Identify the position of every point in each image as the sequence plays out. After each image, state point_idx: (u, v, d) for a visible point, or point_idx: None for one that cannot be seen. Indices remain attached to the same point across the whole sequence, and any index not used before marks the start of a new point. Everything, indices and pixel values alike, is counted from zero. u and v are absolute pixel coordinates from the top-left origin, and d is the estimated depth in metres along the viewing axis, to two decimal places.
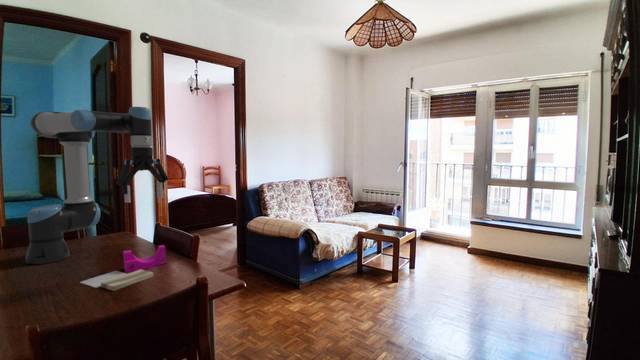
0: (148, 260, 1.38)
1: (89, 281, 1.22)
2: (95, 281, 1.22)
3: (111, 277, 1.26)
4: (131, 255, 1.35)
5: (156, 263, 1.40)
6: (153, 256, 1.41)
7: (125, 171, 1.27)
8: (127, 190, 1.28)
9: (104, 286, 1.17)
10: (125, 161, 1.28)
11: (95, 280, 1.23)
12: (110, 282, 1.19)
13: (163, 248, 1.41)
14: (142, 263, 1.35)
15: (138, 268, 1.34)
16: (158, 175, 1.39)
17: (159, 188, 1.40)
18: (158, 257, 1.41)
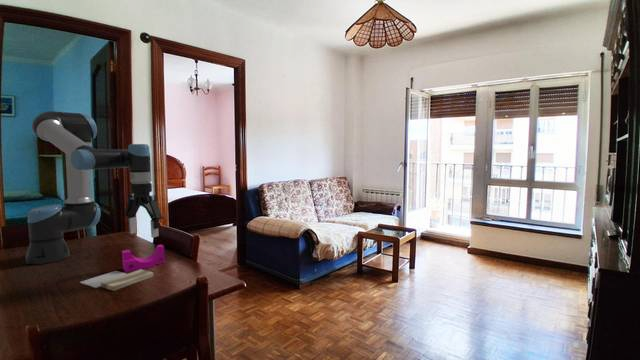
0: (147, 260, 1.38)
1: (89, 281, 1.22)
2: (95, 281, 1.22)
3: (111, 277, 1.26)
4: (130, 255, 1.35)
5: (155, 263, 1.41)
6: (152, 256, 1.42)
7: (127, 205, 1.38)
8: None
9: (104, 286, 1.17)
10: None
11: (95, 280, 1.23)
12: (110, 282, 1.19)
13: (162, 248, 1.42)
14: (141, 263, 1.35)
15: (137, 268, 1.35)
16: (149, 213, 1.32)
17: None
18: (157, 257, 1.41)
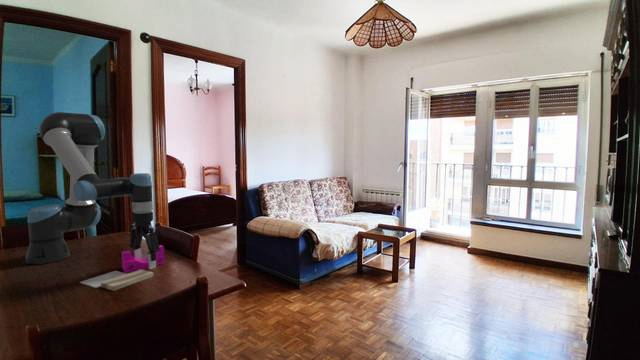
0: (147, 261, 1.38)
1: (89, 281, 1.22)
2: (95, 281, 1.22)
3: (111, 277, 1.26)
4: (130, 255, 1.34)
5: None
6: None
7: (131, 235, 1.39)
8: None
9: (104, 286, 1.17)
10: None
11: (95, 280, 1.23)
12: (110, 282, 1.19)
13: (162, 248, 1.41)
14: (141, 263, 1.35)
15: (137, 268, 1.34)
16: (147, 244, 1.34)
17: None
18: (157, 257, 1.40)
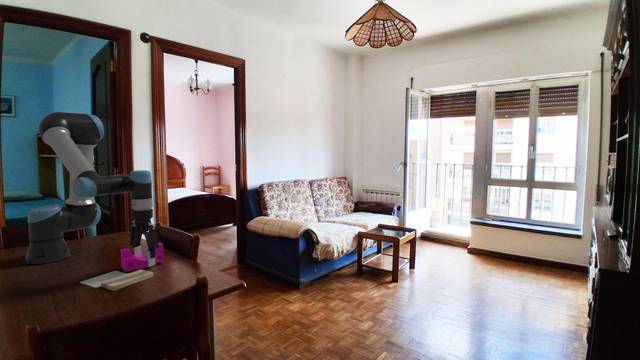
0: (147, 258, 1.37)
1: (89, 281, 1.22)
2: (95, 281, 1.22)
3: (111, 277, 1.26)
4: (129, 253, 1.34)
5: None
6: None
7: (130, 233, 1.39)
8: None
9: (104, 286, 1.17)
10: None
11: (95, 280, 1.23)
12: (110, 282, 1.19)
13: (161, 245, 1.41)
14: (141, 261, 1.34)
15: (137, 266, 1.33)
16: (147, 241, 1.34)
17: None
18: (156, 254, 1.40)
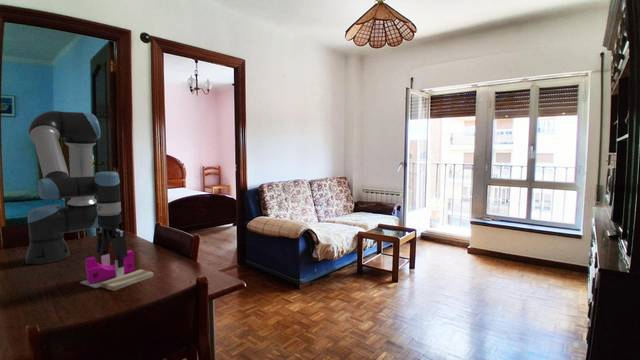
0: None
1: None
2: None
3: None
4: (95, 262, 1.22)
5: None
6: None
7: (97, 240, 1.28)
8: None
9: (104, 286, 1.17)
10: None
11: None
12: (110, 282, 1.19)
13: (131, 253, 1.30)
14: (108, 271, 1.23)
15: (103, 276, 1.22)
16: (114, 249, 1.23)
17: None
18: (125, 263, 1.29)
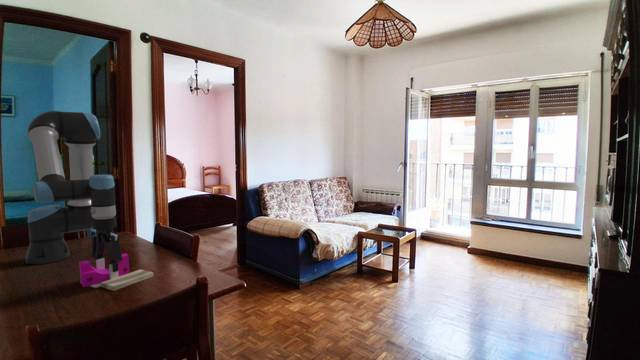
0: (109, 271, 1.24)
1: None
2: None
3: None
4: (89, 266, 1.20)
5: None
6: None
7: (92, 244, 1.26)
8: None
9: (104, 286, 1.17)
10: None
11: None
12: (110, 282, 1.19)
13: (126, 257, 1.28)
14: (102, 275, 1.21)
15: (97, 280, 1.20)
16: (109, 254, 1.21)
17: None
18: (120, 267, 1.27)
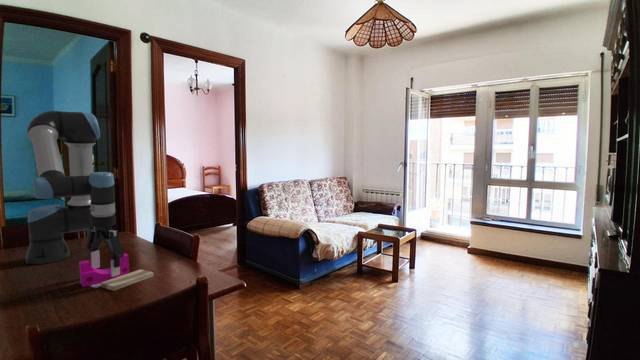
0: (109, 271, 1.24)
1: None
2: None
3: None
4: (89, 266, 1.20)
5: None
6: None
7: (89, 237, 1.27)
8: None
9: (104, 286, 1.17)
10: None
11: None
12: (110, 282, 1.19)
13: (126, 257, 1.28)
14: (102, 275, 1.21)
15: (97, 280, 1.20)
16: (109, 250, 1.21)
17: None
18: (120, 267, 1.27)
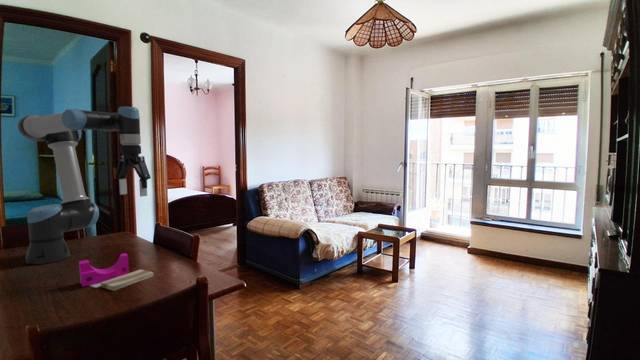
0: (109, 271, 1.25)
1: None
2: None
3: None
4: (88, 266, 1.21)
5: (118, 274, 1.27)
6: (114, 266, 1.28)
7: (117, 166, 1.44)
8: None
9: (104, 286, 1.17)
10: None
11: None
12: (110, 282, 1.19)
13: (125, 257, 1.28)
14: (101, 274, 1.21)
15: (97, 280, 1.21)
16: (138, 173, 1.38)
17: None
18: (120, 267, 1.27)
